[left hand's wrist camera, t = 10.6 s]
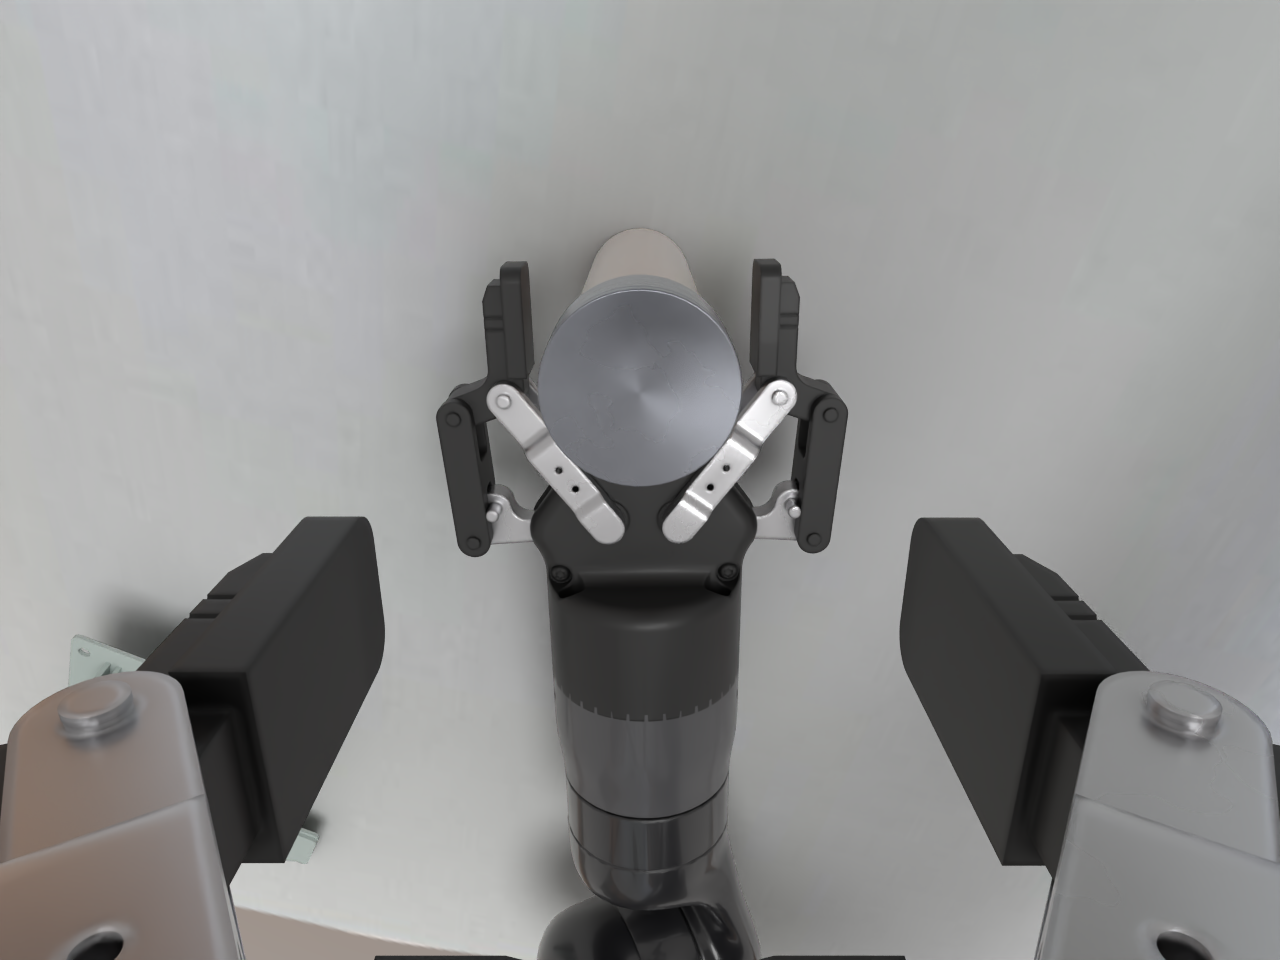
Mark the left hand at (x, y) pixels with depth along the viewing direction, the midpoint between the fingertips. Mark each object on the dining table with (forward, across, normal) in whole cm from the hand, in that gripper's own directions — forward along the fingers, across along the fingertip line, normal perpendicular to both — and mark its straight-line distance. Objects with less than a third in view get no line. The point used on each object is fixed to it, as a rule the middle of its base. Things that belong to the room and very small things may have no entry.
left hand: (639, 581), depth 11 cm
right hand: (+20, 0, -2) cm, 20 cm away
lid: (+9, 0, 0) cm, 9 cm away
